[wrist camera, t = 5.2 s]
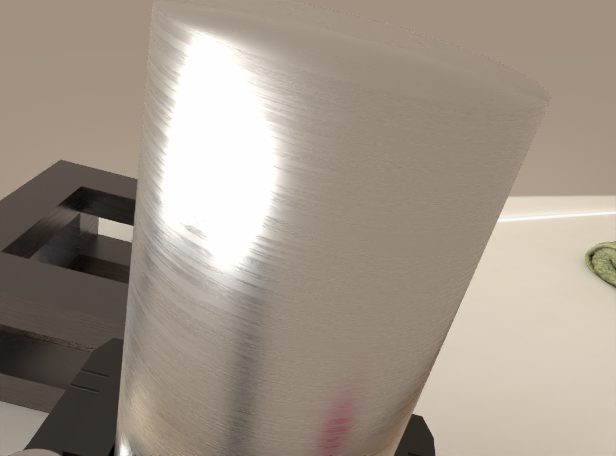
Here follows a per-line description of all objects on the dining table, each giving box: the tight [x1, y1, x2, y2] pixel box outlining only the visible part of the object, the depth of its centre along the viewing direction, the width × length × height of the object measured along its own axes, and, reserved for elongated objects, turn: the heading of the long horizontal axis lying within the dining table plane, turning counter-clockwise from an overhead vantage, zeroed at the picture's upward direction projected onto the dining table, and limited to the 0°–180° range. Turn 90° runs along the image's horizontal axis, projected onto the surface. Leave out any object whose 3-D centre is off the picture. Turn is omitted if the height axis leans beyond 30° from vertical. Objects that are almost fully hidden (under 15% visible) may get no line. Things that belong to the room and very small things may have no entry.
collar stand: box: [0, 160, 138, 413], centre depth 26 cm, size 11×11×6 cm
